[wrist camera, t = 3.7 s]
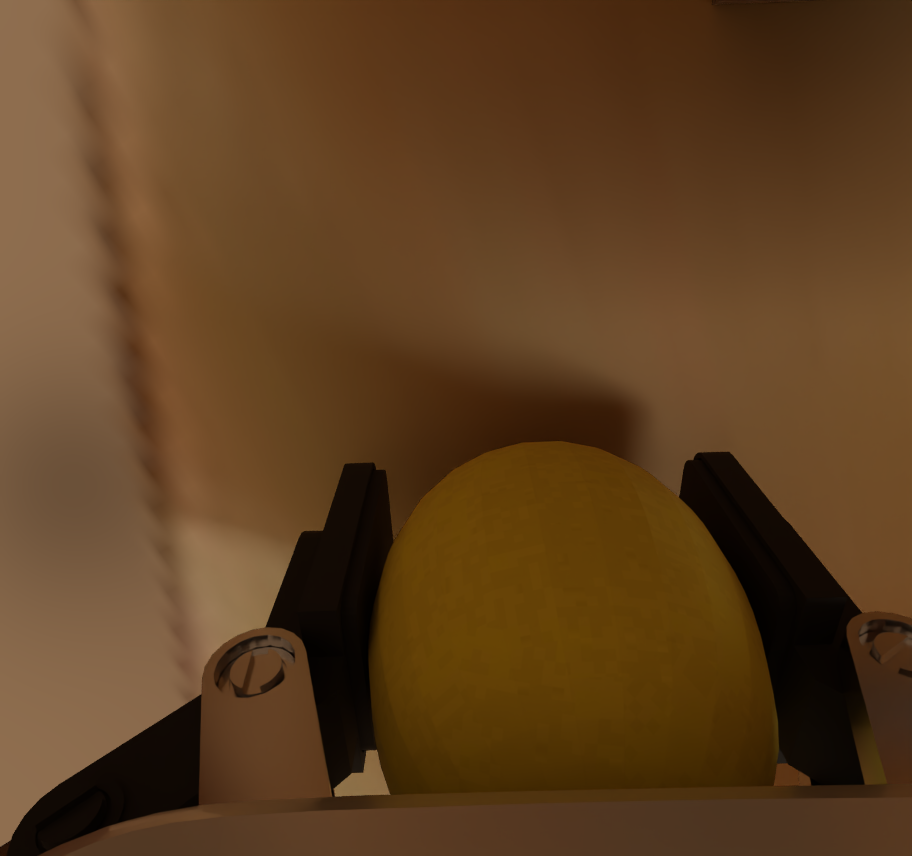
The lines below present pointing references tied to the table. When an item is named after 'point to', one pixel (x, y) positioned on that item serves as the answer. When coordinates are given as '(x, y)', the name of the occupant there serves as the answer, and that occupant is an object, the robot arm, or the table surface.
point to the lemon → (564, 636)
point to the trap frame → (749, 1)
